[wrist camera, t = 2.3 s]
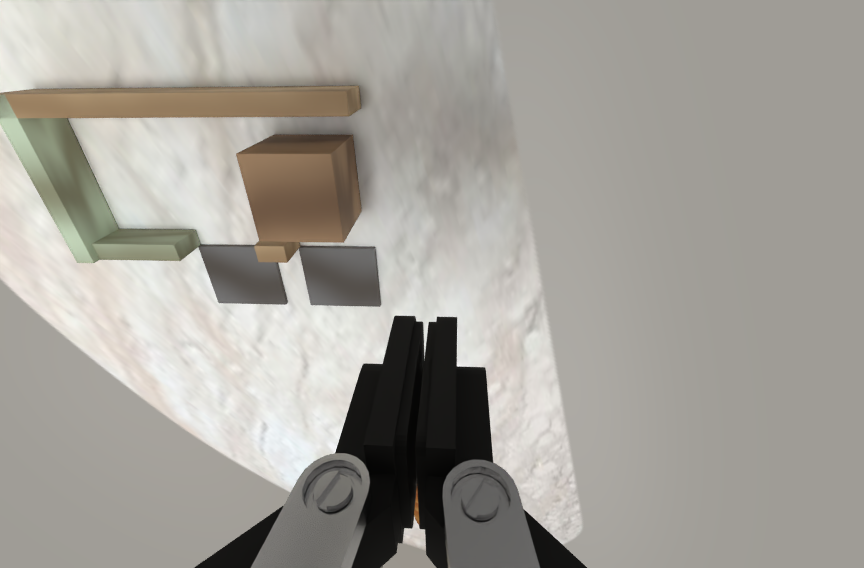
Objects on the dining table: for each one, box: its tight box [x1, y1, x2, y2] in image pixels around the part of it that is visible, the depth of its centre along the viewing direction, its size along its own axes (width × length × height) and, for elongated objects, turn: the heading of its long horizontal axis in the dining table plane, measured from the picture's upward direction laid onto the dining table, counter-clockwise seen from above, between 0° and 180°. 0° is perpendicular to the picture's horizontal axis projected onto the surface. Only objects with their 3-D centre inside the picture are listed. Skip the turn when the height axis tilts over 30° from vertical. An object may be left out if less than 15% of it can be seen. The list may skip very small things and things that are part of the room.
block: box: [236, 135, 361, 242], centre depth 24 cm, size 5×5×5 cm
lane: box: [0, 86, 381, 307], centre depth 26 cm, size 15×20×3 cm
